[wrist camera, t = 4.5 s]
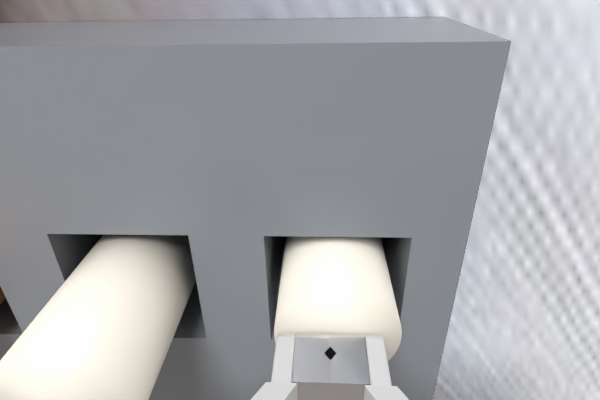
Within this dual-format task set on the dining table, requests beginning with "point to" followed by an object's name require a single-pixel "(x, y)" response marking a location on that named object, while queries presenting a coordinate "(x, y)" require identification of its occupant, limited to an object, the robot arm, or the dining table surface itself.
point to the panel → (245, 168)
